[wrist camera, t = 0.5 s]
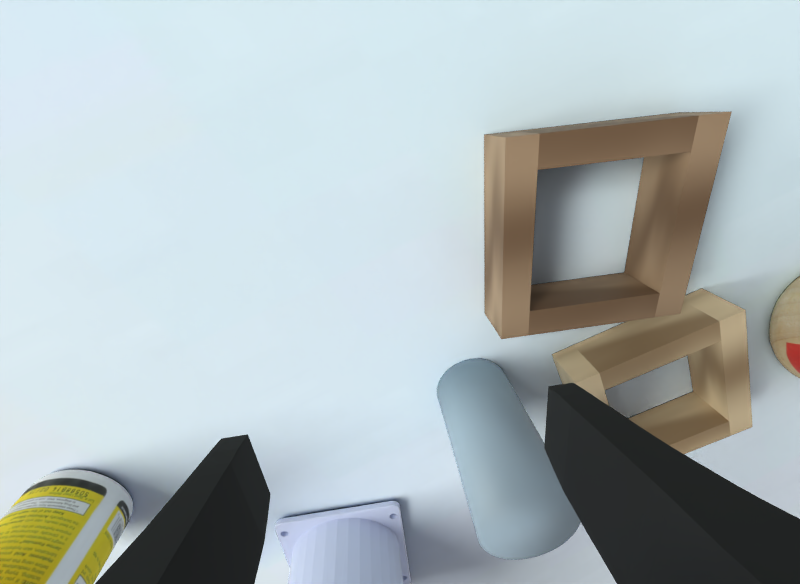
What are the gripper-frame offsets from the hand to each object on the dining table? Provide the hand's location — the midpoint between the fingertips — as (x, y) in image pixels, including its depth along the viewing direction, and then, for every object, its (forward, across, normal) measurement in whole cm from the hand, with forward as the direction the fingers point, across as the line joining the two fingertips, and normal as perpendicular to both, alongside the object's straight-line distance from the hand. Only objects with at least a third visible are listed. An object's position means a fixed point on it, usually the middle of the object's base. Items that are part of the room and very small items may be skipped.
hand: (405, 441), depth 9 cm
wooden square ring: (+10, -9, -2) cm, 14 cm away
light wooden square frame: (+10, -14, +8) cm, 19 cm away
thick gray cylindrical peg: (+10, -4, +7) cm, 13 cm away
